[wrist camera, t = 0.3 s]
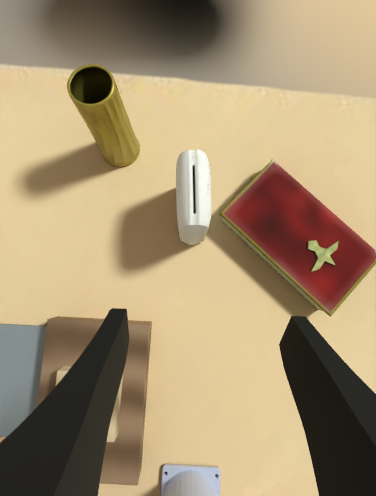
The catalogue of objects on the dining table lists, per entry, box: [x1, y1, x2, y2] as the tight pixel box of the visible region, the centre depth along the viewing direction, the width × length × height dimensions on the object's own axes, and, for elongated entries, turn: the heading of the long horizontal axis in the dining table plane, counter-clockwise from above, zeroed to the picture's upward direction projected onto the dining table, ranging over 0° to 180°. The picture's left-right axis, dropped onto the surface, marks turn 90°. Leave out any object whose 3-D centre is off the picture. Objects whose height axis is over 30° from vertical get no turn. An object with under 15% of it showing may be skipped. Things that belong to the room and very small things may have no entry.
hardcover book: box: [220, 160, 376, 316], centre depth 40 cm, size 12×21×4 cm, turn 46°
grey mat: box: [0, 324, 47, 437], centre depth 38 cm, size 15×10×1 cm, turn 177°
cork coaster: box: [56, 366, 123, 442], centre depth 35 cm, size 8×8×2 cm
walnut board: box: [37, 317, 152, 485], centre depth 37 cm, size 20×14×3 cm
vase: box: [67, 64, 140, 167], centre depth 37 cm, size 6×6×14 cm
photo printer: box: [176, 150, 211, 245], centre depth 36 cm, size 10×4×12 cm, turn 1°
